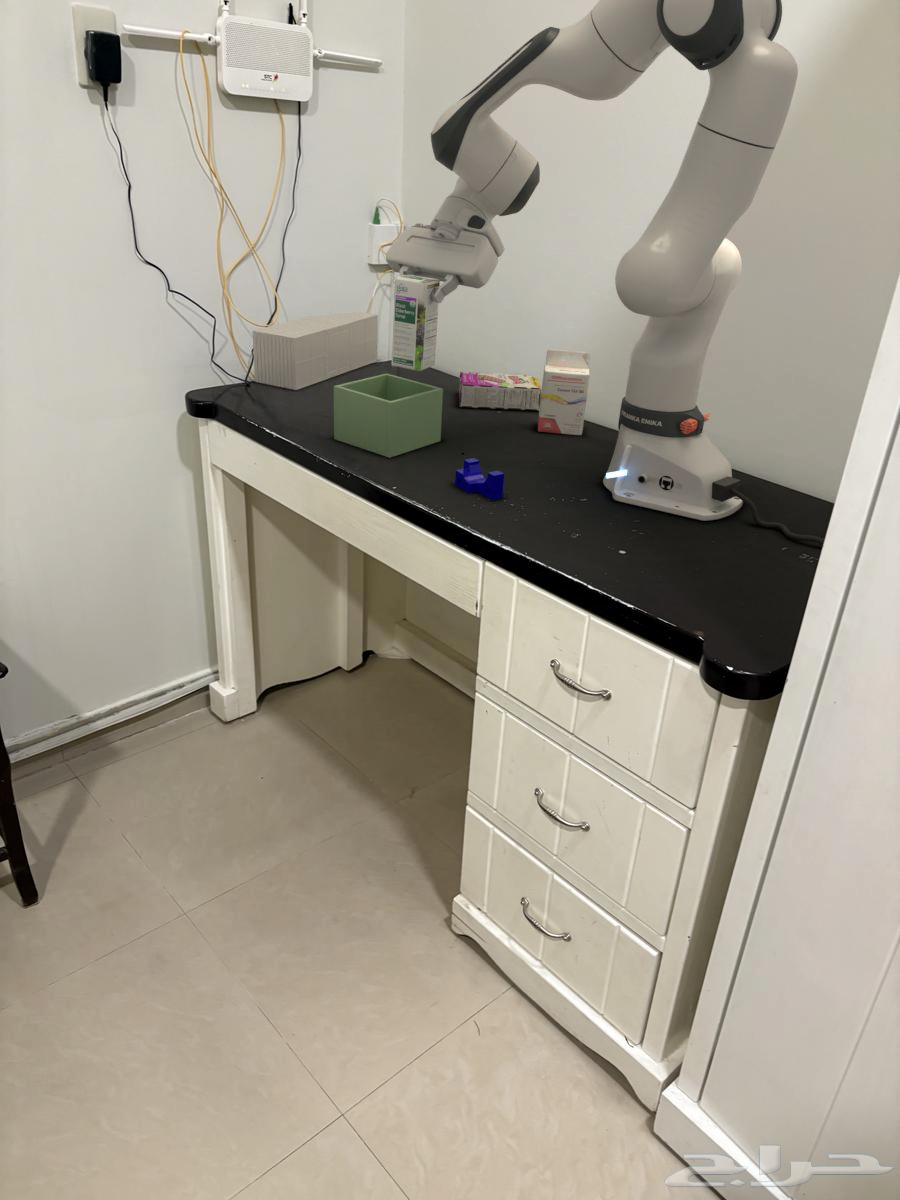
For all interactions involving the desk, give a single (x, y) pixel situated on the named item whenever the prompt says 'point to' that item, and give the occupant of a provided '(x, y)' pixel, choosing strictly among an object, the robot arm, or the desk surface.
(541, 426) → the ink cartridge box
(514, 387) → the candy bar box
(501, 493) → the cable holder
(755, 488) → the desk surface
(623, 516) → the desk surface
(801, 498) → the desk surface
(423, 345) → the syrup box
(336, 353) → the stack of papers
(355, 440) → the waste bin
